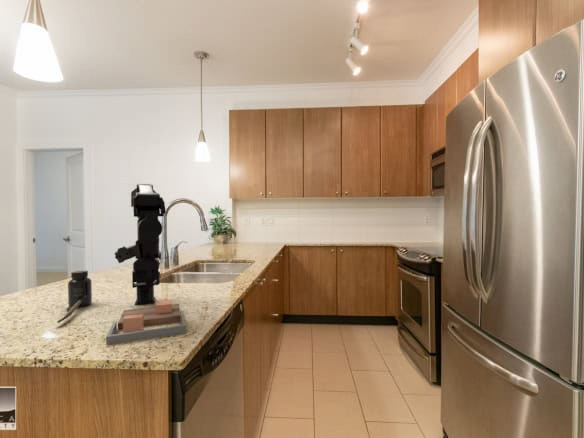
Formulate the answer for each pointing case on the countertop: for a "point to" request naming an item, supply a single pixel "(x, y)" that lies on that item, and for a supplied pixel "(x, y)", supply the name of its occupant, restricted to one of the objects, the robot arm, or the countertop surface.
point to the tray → (144, 333)
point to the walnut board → (153, 316)
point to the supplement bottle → (80, 288)
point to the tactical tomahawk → (72, 308)
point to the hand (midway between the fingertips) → (149, 288)
